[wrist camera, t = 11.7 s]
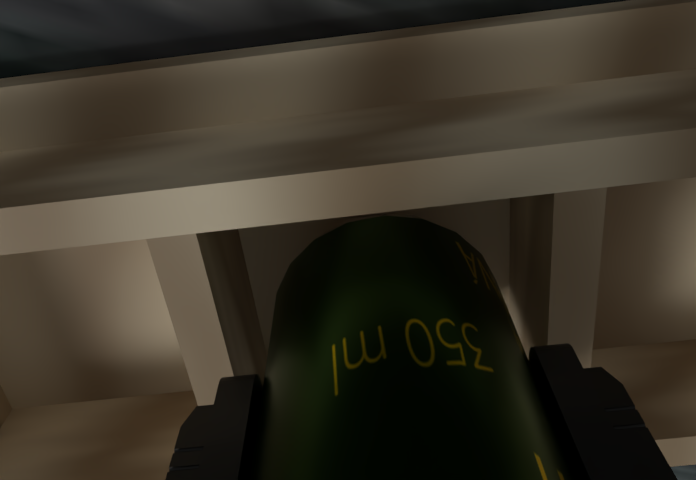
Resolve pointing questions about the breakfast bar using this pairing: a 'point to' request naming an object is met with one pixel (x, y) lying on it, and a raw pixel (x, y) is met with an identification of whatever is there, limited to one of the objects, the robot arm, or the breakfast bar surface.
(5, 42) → the breakfast bar surface
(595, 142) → the wooden compartment organizer
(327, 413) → the beer can
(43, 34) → the breakfast bar surface
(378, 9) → the breakfast bar surface
